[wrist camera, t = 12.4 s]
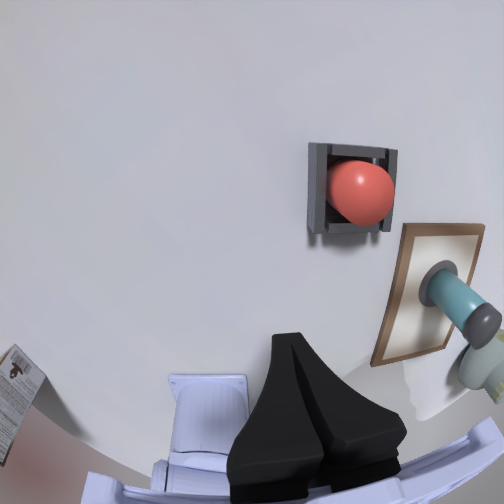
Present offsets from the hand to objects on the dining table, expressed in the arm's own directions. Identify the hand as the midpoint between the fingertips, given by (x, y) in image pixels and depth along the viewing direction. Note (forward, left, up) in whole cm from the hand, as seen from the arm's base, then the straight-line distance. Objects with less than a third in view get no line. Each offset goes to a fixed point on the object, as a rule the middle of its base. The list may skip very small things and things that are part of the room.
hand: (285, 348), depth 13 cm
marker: (-3, -17, -9) cm, 19 cm away
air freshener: (-16, -32, -10) cm, 37 cm away
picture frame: (-5, -17, -9) cm, 20 cm away
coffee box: (-15, +34, -10) cm, 38 cm away
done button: (+6, -6, -9) cm, 12 cm away
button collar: (+6, -6, -9) cm, 13 cm away
